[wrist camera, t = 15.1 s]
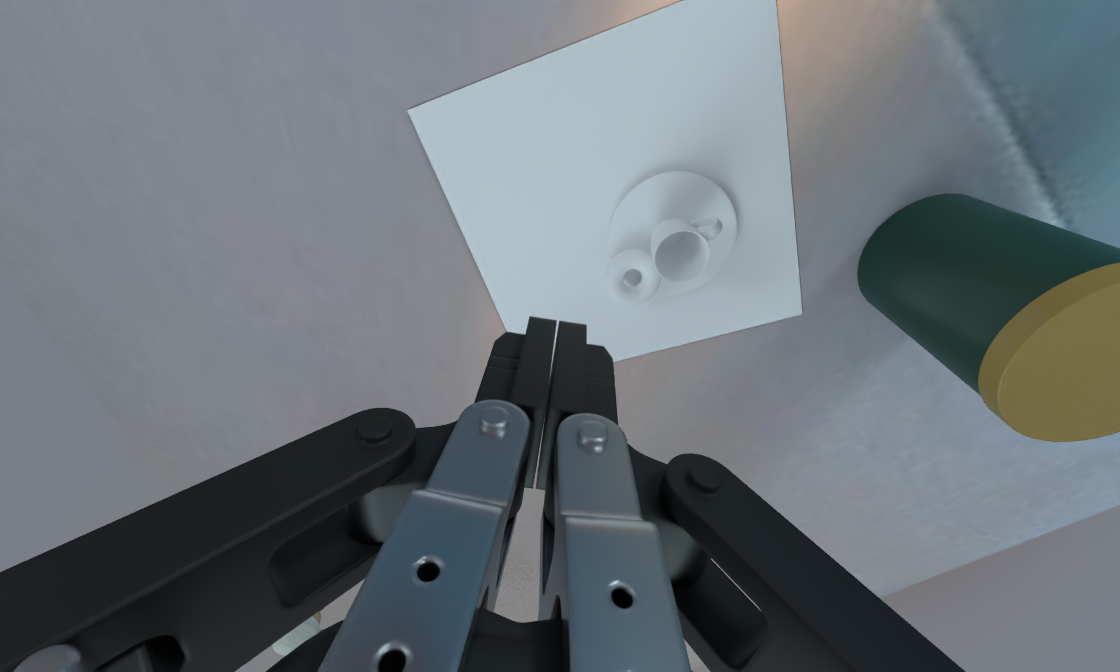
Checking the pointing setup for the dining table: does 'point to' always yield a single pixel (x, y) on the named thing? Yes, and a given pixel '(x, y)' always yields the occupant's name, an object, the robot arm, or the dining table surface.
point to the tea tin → (1006, 310)
